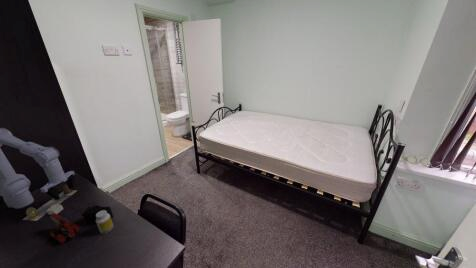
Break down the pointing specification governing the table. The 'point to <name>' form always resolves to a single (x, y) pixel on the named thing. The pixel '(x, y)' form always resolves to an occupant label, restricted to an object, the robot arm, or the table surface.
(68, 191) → the pawn
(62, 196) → the board
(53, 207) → the die
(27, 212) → the pawn
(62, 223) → the toy fire truck
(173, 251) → the table surface
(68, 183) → the robot arm
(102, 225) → the supplement bottle
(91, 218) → the digital camera
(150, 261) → the table surface
